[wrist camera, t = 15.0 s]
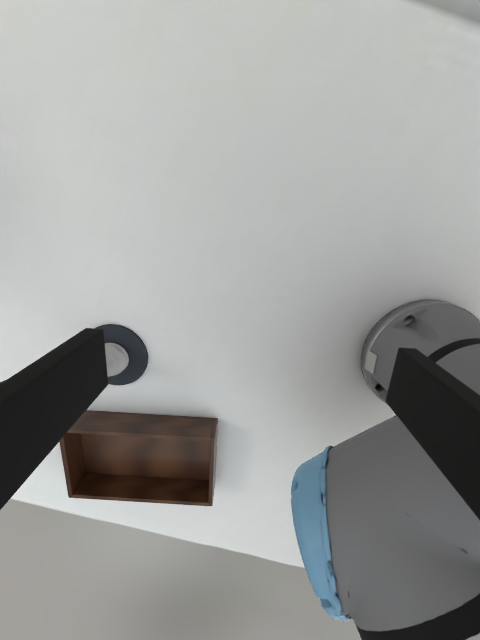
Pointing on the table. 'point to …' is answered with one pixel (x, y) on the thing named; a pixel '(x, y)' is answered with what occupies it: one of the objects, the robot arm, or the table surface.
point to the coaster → (133, 349)
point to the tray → (141, 458)
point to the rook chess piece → (115, 359)
